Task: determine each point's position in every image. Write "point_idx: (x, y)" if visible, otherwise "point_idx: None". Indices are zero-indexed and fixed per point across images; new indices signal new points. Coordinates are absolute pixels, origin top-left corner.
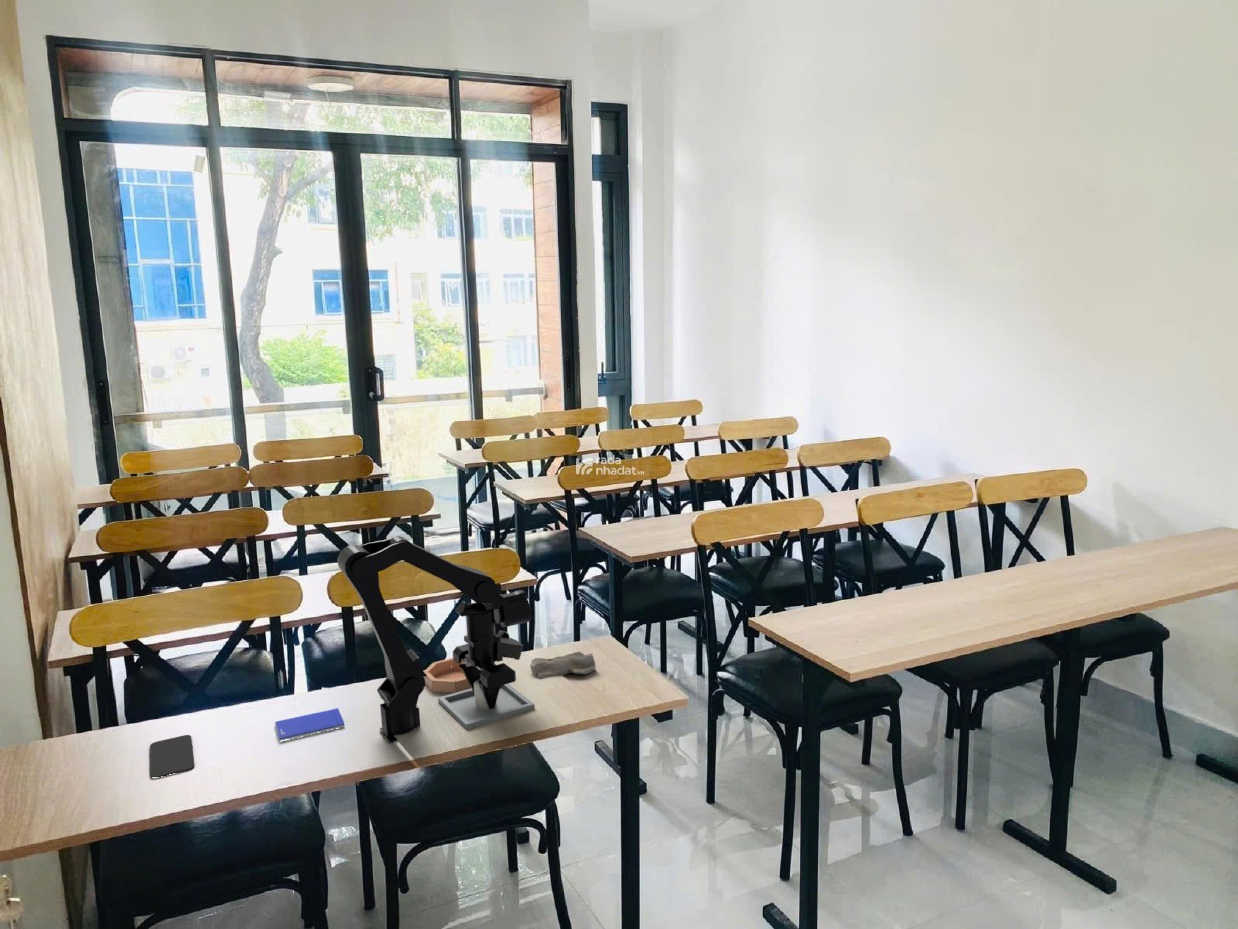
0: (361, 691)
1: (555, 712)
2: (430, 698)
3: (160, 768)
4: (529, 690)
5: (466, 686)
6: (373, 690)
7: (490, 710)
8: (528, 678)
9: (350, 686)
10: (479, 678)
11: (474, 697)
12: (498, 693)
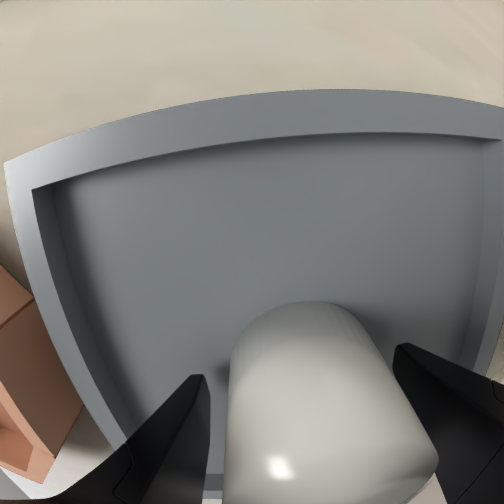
0: (38, 492)
1: (493, 38)
2: (81, 453)
3: None
4: (154, 6)
5: (43, 387)
6: (32, 482)
7: (382, 353)
8: (20, 12)
9: (20, 487)
10: (172, 498)
11: (152, 384)
12: (494, 381)
